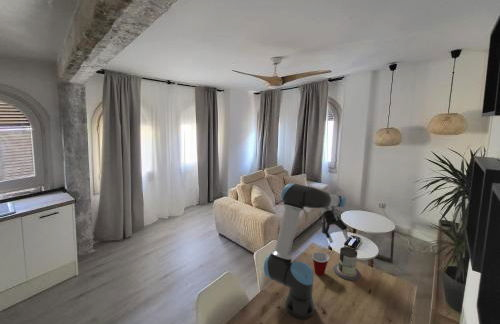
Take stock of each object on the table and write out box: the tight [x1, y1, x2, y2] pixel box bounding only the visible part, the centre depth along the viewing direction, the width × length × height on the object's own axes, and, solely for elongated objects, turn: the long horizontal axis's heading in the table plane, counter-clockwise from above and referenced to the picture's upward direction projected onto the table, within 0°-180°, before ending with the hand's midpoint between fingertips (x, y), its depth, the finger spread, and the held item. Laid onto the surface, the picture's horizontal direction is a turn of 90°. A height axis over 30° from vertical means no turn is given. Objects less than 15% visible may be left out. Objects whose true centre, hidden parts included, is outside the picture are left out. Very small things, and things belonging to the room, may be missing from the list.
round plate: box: [333, 263, 361, 281], centre depth 154 cm, size 16×16×1 cm
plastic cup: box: [311, 251, 330, 276], centre depth 152 cm, size 11×11×12 cm
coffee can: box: [338, 246, 358, 276], centre depth 153 cm, size 10×10×14 cm
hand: (339, 241), depth 159 cm, fingers open, 13 cm apart
